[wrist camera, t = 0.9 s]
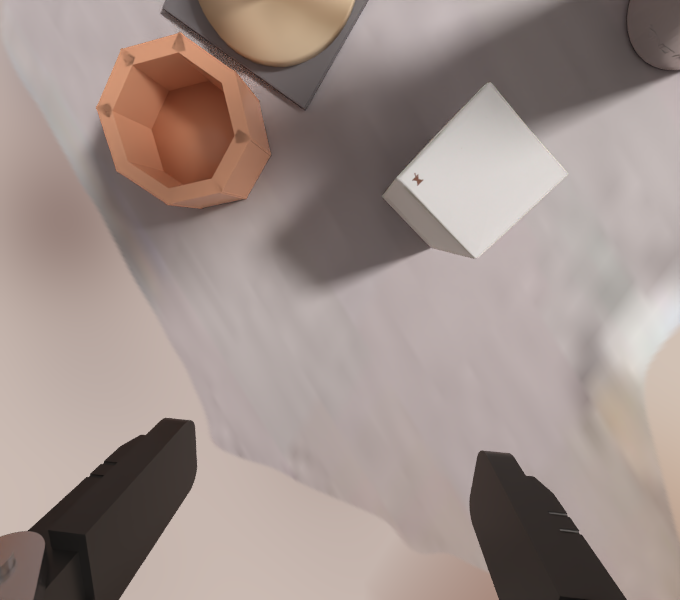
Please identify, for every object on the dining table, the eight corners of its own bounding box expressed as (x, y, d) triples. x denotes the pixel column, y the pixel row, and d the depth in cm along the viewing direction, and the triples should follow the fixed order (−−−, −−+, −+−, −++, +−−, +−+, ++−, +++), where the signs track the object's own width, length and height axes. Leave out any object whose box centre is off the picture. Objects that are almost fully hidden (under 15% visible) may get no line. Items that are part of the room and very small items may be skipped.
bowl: (182, 46, 30) (139, 3, 24) (290, 122, 31) (274, 98, 25) (129, 161, 33) (78, 146, 27) (230, 228, 33) (202, 228, 28)
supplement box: (431, 250, 33) (473, 264, 20) (379, 195, 32) (391, 176, 20) (490, 195, 31) (574, 175, 19) (437, 136, 30) (489, 75, 18)
